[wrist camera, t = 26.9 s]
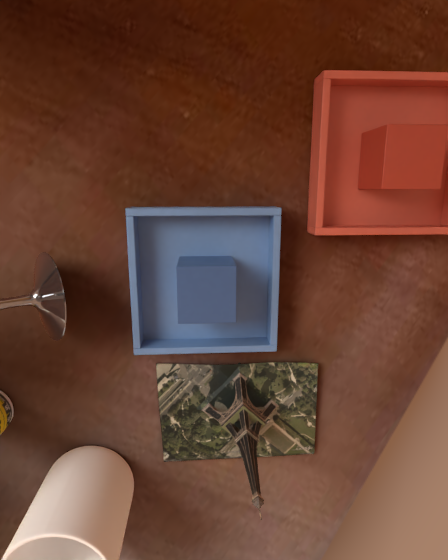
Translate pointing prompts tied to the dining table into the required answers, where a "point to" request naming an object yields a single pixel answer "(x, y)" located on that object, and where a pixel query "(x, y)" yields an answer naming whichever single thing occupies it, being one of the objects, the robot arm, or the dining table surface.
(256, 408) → the eiffel tower figurine
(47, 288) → the wine glass
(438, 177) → the red block
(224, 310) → the blue block
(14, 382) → the dining table surface
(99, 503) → the cup
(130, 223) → the blue tray
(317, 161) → the red tray
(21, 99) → the dining table surface
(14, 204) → the dining table surface
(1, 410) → the supplement bottle
